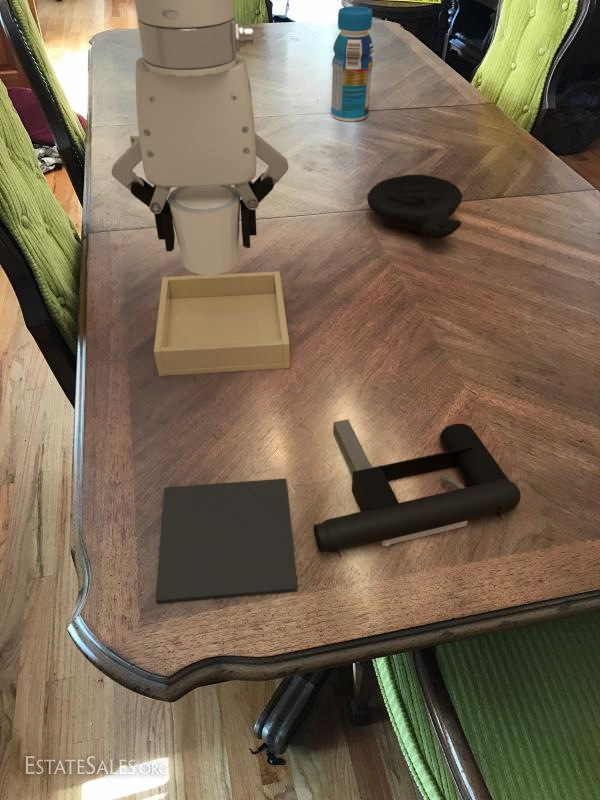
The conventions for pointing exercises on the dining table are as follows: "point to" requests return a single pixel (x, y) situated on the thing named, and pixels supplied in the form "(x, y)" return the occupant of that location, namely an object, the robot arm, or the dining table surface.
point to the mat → (225, 541)
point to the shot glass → (207, 227)
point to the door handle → (421, 515)
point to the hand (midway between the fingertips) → (208, 241)
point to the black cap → (417, 204)
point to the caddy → (221, 324)
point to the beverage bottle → (352, 64)
